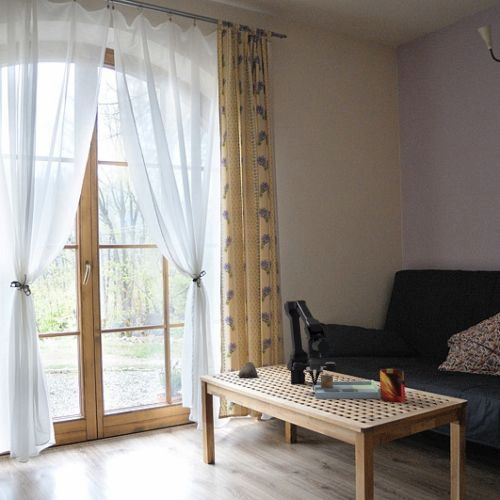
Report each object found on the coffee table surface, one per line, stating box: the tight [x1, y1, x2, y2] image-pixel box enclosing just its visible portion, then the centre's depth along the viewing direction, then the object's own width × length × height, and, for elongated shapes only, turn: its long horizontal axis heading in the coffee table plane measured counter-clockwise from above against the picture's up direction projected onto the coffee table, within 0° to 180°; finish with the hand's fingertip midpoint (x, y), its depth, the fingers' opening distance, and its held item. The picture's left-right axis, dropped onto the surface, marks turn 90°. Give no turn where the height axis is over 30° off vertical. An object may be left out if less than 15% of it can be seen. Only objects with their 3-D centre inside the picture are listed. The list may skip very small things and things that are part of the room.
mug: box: [379, 368, 406, 404], centre depth 249 cm, size 10×14×12 cm
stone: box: [237, 361, 258, 379], centre depth 304 cm, size 10×8×10 cm
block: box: [320, 374, 334, 388], centre depth 267 cm, size 5×5×5 cm
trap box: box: [312, 379, 381, 400], centre depth 263 cm, size 28×18×4 cm, turn 88°
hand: (314, 385), depth 268 cm, fingers closed
